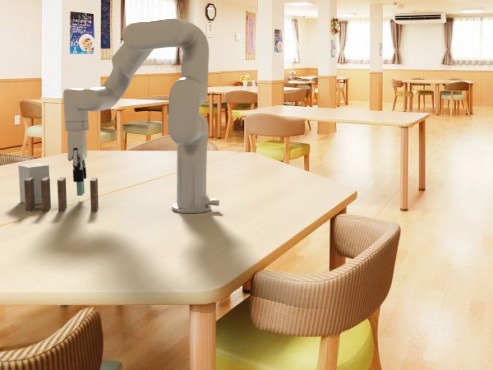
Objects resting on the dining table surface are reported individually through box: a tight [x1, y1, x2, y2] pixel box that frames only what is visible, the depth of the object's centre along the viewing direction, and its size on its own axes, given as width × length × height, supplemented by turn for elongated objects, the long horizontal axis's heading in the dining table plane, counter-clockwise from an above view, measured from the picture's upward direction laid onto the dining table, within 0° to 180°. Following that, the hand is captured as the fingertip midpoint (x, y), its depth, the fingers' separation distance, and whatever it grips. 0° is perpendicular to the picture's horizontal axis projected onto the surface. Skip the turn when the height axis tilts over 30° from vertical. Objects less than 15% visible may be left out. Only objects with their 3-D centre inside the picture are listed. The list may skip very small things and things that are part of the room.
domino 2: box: [41, 176, 52, 213], centre depth 191 cm, size 2×5×10 cm, turn 5°
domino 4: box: [75, 164, 86, 197], centre depth 202 cm, size 2×5×10 cm, turn 5°
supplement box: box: [17, 162, 50, 206], centre depth 200 cm, size 7×7×13 cm
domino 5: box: [89, 177, 99, 213], centre depth 192 cm, size 2×5×10 cm, turn 5°
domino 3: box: [56, 177, 68, 213], centre depth 191 cm, size 2×5×10 cm, turn 6°
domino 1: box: [24, 177, 36, 212], centre depth 190 cm, size 2×5×10 cm, turn 6°
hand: (80, 179), depth 202 cm, fingers closed on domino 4, 4 cm apart
